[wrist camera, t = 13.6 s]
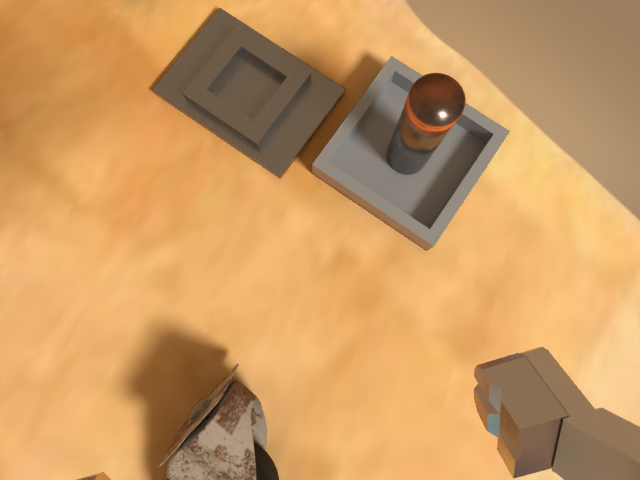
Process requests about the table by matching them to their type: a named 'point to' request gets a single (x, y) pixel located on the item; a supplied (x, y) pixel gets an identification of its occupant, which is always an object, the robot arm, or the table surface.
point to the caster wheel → (223, 438)
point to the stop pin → (424, 121)
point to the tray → (397, 189)
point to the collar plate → (249, 92)
